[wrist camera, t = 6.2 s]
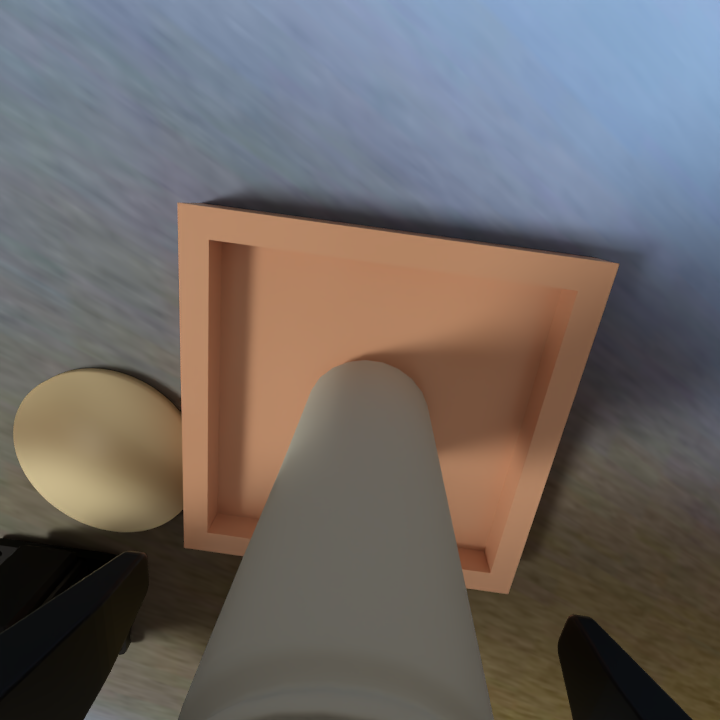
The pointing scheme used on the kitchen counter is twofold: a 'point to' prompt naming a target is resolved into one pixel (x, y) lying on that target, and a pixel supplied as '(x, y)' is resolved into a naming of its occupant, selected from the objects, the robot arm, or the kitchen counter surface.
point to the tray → (381, 344)
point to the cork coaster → (103, 449)
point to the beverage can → (349, 574)
